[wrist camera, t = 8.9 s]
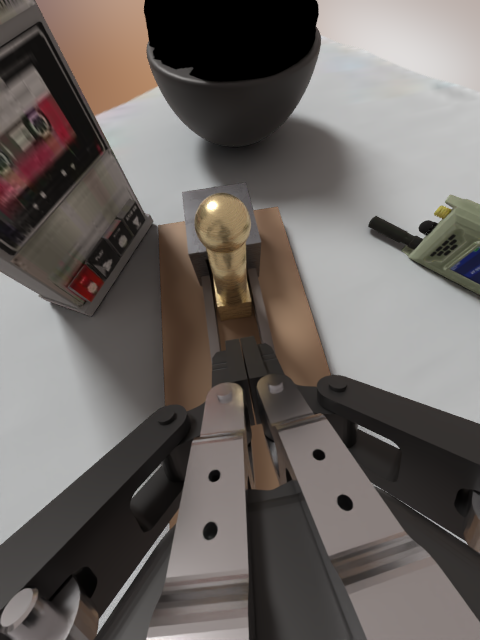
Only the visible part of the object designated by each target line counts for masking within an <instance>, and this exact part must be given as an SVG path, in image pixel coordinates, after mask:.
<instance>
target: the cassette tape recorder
mask: <svg viewBox="0 0 480 640" xmlns="http://www.w3.org/2000/svg"><path fill="white" fill-rule="evenodd" d="M152 223H153V220H152V218H151V216H150V214H146V213H144V211H143V209H142V207H141V205H140V204H139V202H138V200H137V198H136V196H135V194H134V192H133V190H132V188H131V186H130V184H129V182H128V180H127V178H126V176H125V174H124V172H123V170H122V169H121V167H120V165H119V163H118V161H117V159H116V157H115V155H114V153H113V151H112V149H111V147H110V145H109V143H108V141H107V139H106V137H105V136H104V134H103V132H102V130H101V128H100V126H99V124H98V122H97V120H96V118H95V116H94V114H93V112H92V110H91V108H90V107H89V104H88V103H87V101H86V99H85V97H84V95H83V93H82V91H81V89H80V87H79V85H78V83H77V81H76V79H75V77H74V76H73V73H72V71H71V70H70V68H69V66H68V64H67V62H66V60H65V58H64V56H63V54H62V52H61V50H60V48H59V46H58V44H57V42H56V40H55V38H54V37H53V35H52V33H51V31H50V29H49V27H48V25H47V23H46V21H45V19H44V17H43V15H42V13H41V11H40V9H39V7H38V5H37V3H36V1H35V0H0V272H2V273H4V274H5V275H7V276H9V277H10V278H12V279H14V280H16V281H17V282H19V283H21V284H22V285H24V286H26V287H27V288H29V289H31V290H33V291H34V292H36V293H38V294H39V297H41V298H43V299H44V300H46V301H49V302H51V303H54V304H57V305H60V306H63V307H65V308H68V309H71V310H74V311H77V312H80V313H82V314H85V315H88V316H91V317H92V315H93V314H94V312H95V311H96V309H97V308H98V306H99V304H100V303H101V301H102V300H103V298H104V297H105V295H106V294H107V292H108V291H109V289H110V288H111V286H112V285H113V283H114V281H115V280H116V278H117V277H118V275H119V274H120V272H121V271H122V269H123V268H124V266H125V265H126V263H127V261H128V260H129V258H130V257H131V255H132V254H133V252H134V251H135V249H136V248H137V246H138V245H139V243H140V242H141V240H142V238H143V237H144V235H145V234H146V232H147V231H148V229H149V228H150V226H151V225H152Z"/></svg>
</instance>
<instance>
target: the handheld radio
mask: <svg viewBox="0 0 480 640" xmlns="http://www.w3.org/2000/svg"><path fill="white" fill-rule="evenodd" d="M445 203H446V204H448V205H449V206H451V207H452V208H453V209H452V210H451V209H449V208H446V207H443V206H440V207H439V208H438V209H437V210H436V212H435V213H434V214H435V216H436V215H437V217H438V216H439V218H442V220H441V221H440V222H439V223H435V222H432V221H429V220H428V221H424V222H423V223H421V224H420V226H419V231H420V232H421V233H423V234H425V233H426V232H427V233H428V234H427V233H426V234H425V235H426V237H425V238H424V239H422V238H420V237H418V236H413V235H411V234H409V233H407V232H406V231H404V230H403V229H401V228H399V227H397V226H395V225H393V224H391V223H389V222H387V221H385V220H383V219H381V218H379V217H377V216H375V217H374V218H372V220H371V221H370V223H369V226H368V227H370V228H372V229H374V230H376V231H378V232H380V233H382V234H384V235H386V236H387V237H389V238H391V239H393V240H395V241H397V242H402V243H404V244H406V245H405V246H404V248H403V249H402V250H401V251H402V252H403V253H405V254H406V255H407V256H408V257H409V258H410V259H412V260H414V261H416V262H417V263H419V264H421V265H423V266H425V267H427V268H429V269H431V270H433V271H435V272H436V273H438V274H440V275H442V276H444V277H446V278H448V279H450V280H452V281H454V282H455V283H457V284H459V285H461V286H463V287H465V288H467V289H469V290H471V291H473V292H474V293H476V294H478V295H480V204H478V203H475V202H473V201H470V200H468V199H461V198H459V197H456V196H453V195H449V196H448V198H447V199H446V201H445ZM432 225H433V226H432ZM407 245H408V246H407Z"/></svg>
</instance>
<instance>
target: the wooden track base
mask: <svg viewBox="0 0 480 640" xmlns="http://www.w3.org/2000/svg"><path fill="white" fill-rule="evenodd" d="M253 212H254V216H255V219H256V223H257V227H258V231H259V235H260V239H261V256H260V272H259V277H258V276H257V272H256V268H252V269H247V283H248V288H249V293H250V297H251V316H249V317H243V318H237V319H231V320H225V321H221V317H220V314H219V311H218V307H217V300H216V293H215V286H214V279H213V274H212V270H211V266H210V272H211V278H210V275H209V276H203V277H201V279H202V286H200V284H199V281H198V279H197V276H196V273H195V271H194V268H193V265H192V263H191V260H190V257H189V255H188V247H187V236H186V226H185V221H183V222H176V223H170V224H164V225H158V234H159V260H160V287H161V313H162V339H163V366H164V392H165V406H168V405H175V404H176V405H181V406H183V407H184V408H185V409H186V411H189V410H191V409H193V408H196V407H198V406H200V405H201V404H203V403H204V402H205V401H206V396H207V394H208V392H209V391H210V390H211V389H212V358H213V356H214V355H215V353H216V352H219V351H224V350H226V346H225V341H227V340H232V339H238V338H239V342H240V338H243V337H249V336H254V338H255V340H256V343H257V344H263V343H266V344H268V345H269V346H271V347H272V348H273V351H274V353H275V355H276V357H277V359H278V361H279V363H280V365H281V367H282V370H283V372H284V374H285V375H286V376H288V377H290V378H291V379H292V381H293V382H294V384H297V385H301V386H314V387H317V383H318V381H319V380H320V379H321V378H323V377H325V376H329V375H331V373H330V370H329V367H328V364H327V361H326V357H325V354H324V351H323V348H322V345H321V342H320V338H319V335H318V332H317V329H316V326H315V323H314V320H313V316H312V313H311V310H310V307H309V304H308V301H307V297H306V294H305V291H304V288H303V285H302V282H301V279H300V275H299V272H298V269H297V266H296V263H295V260H294V256H293V253H292V250H291V247H290V244H289V241H288V237H287V234H286V231H285V228H284V225H283V222H282V219H281V215H280V212H279V209H278V207H272V208H266V209H260V210H253ZM209 265H210V262H209ZM211 279H212V282H211ZM240 346H241V342H240ZM241 351H242V348H241ZM242 356H243V354H242ZM243 360H244V359H243ZM249 391H250V390H249ZM250 397H251V395H250ZM251 403H252V400H251ZM252 409H253V404H252ZM253 415H254V421H255V425H253V426H251V430H252V439H251V440H252V447H253V459H254V471H255V483H256V489H257V490H273V489H275V488H277V487H279V486H280V485H279V482H278V479H277V476H276V473H275V470H274V467H273V464H272V461H271V458H270V454H269V451H268V448H267V445H266V442H265V437H264V431H263V426H262V424H258V425H257V423H256V419H255V414H254V409H253ZM178 512H179V509H178V511H177V512H176V513H175V515H174V516H173V518H172V519H171V520H170V522H169V524H170V529H171V528H172V527H173V526H174V525H175V524H176V523H177V518H178Z"/></svg>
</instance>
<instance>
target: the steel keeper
mask: <svg viewBox="0 0 480 640" xmlns="http://www.w3.org/2000/svg"><path fill="white" fill-rule="evenodd" d="M216 193H227V194H231V195H233V196H235V197H237V198H238V199H240V200H241V201H242V202H243V203H244V205H245V206H246V208H247V210H248V212H249V215H250V219H251V229H250V234H249V237H248V239H247V240H246V273H247V269H252V268H256V272H257V276H258V277H259V272H260V256H261V239H260V235H259V231H258V227H257V223H256V219H255V216H254V212H253V208H252V204H251V200H250V196H249V192H248V188H247V184H246V182H245V183H238V184H232V185H225V186H219V187H212V188H206V189H199V190H193V191H186V192H182V196H183V206H184V216H185V226H186V236H187V247H188V255H189V257H190V260H191V263H192V265H193V268H194V271H195V273H196V276H197V279H198V281H199V284H200V286H202V279H201V277H203V276H209V275H210V278H211V272H210V265H209V258H208V255H207V251H206V247H205V246H204V245H203V244H202V243H201V242H200V240H199V238H198V236H197V234H196V231H195V222H194V220H195V214H196V211H197V209H198V207H199V205H200V204H201V203H202V202H203V200H205V199H206V198H207V197H209V196H211V195H213V194H216ZM211 282H212V279H211Z"/></svg>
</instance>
